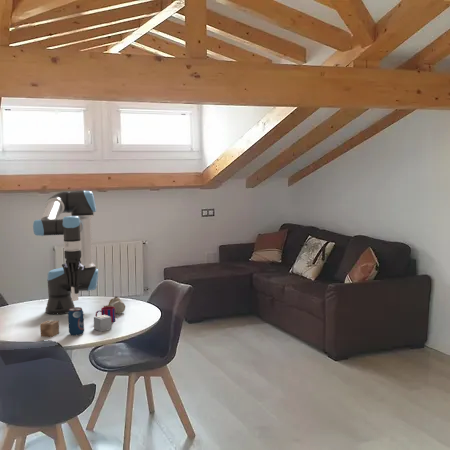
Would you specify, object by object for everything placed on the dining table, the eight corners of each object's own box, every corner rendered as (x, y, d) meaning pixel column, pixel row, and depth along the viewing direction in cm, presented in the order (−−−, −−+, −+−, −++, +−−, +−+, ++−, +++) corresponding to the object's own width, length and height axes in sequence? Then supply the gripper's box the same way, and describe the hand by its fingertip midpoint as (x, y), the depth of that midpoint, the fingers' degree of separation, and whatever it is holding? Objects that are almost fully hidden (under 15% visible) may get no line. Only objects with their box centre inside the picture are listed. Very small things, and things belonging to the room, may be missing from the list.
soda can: (83, 335, 261) (81, 310, 260) (67, 336, 261) (66, 310, 260) (85, 331, 268) (84, 306, 267) (70, 332, 268) (69, 307, 266)
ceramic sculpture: (109, 299, 295) (101, 295, 308) (110, 316, 295) (102, 311, 308) (129, 297, 300) (121, 293, 313) (130, 313, 300) (121, 309, 313)
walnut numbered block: (40, 336, 262) (40, 323, 261) (47, 332, 268) (46, 319, 267) (52, 337, 260) (52, 323, 260) (59, 333, 266) (58, 320, 266)
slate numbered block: (94, 329, 272) (93, 316, 272) (105, 326, 276) (104, 314, 276) (100, 331, 268) (100, 318, 267) (111, 329, 272) (111, 316, 271)
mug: (117, 321, 284) (116, 308, 283) (97, 324, 279) (97, 311, 279) (112, 318, 290) (112, 305, 289) (93, 321, 285) (93, 308, 284)
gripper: (56, 250, 261) (59, 300, 263) (76, 252, 254) (79, 303, 256) (68, 247, 267) (71, 297, 270) (88, 249, 260) (91, 300, 263)
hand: (75, 300), depth 263 cm, fingers closed
